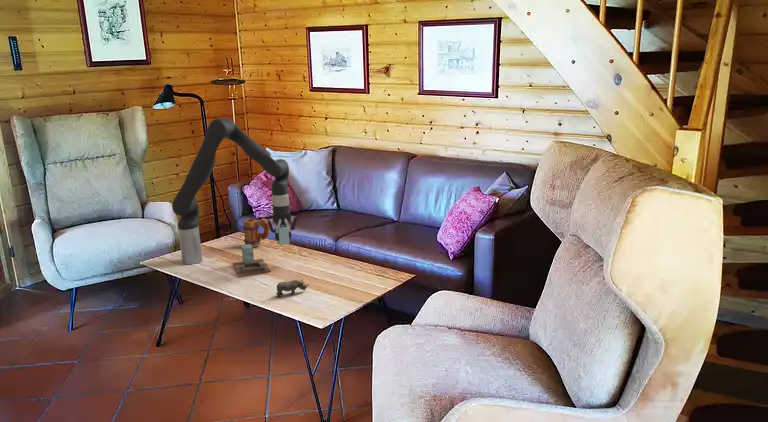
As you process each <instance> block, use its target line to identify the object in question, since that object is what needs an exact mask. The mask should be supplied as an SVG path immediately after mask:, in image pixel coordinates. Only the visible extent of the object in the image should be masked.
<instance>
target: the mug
mask: <svg viewBox="0 0 768 422" xmlns="http://www.w3.org/2000/svg"><path fill="white" fill-rule="evenodd" d="M267 220H268V219H266V218H264V217H263V218H261V219H260V220H257V219H255V218H250V219H249V218H247V219H244V220H243V226H242V230H244V231H243V233H244V239H243V242H244V245H250V244H251V245H252V246H253V248H256V247H258V246H260V245H261V240H263V241H264V240H266V239H267V238H268V236H269V235H270V232H271V231H270V228H269V226H268V223H267ZM260 227H262V228H263V232H259V228H260Z"/></svg>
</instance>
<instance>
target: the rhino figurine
mask: <svg viewBox="0 0 768 422" xmlns="http://www.w3.org/2000/svg"><path fill="white" fill-rule="evenodd" d="M309 285H310V284H306V283H305V282H303V279H301V280H297V279H293V280H290V281H281V282H278V283H277V285H276V293H275V294H276V298H281V296H283V295H284V292H290V295H291V296H295V295H296V290H297V289H298V288H299V290H302V291H306V289H307V288H308V286H309ZM283 291H284V292H283Z"/></svg>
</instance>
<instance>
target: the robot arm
mask: <svg viewBox="0 0 768 422" xmlns="http://www.w3.org/2000/svg"><path fill="white" fill-rule="evenodd" d="M225 139H227V140H230V141H232V142H234V143H236V144H237V145H238V147H240V148H241V150H243V152H244V153H245V154H246V155H247V157H249V158H250V159H251V160H252V161H254V162H255V163H257V164H259V165H260V167H262V169H263V170H264V171H265V172H266V173H267V174H268V175H270V176H271V177H274V180H273V181H272V183H271V193H272V194H271V195H272V196H271V204H272V218H270V219H266V220H267V223H268V226H269V228H270V232H271V233H274V239H275V240H276V241H277V242H278V241H279V233H278V228H280V226H282V225H284V226H285V225H286V226H287V227H289V240H291V238H292V231H294V230H295V228H296V225H297V220H298V218H297V216H295V215H294V216H292V215H291V210H290V197H289V190H288V187H289V186H288V182H289V175H290V174H289V173H290V166H289V164H288V162H287V161H286V159H284V158H279V159H277V160H275V159H273V157H272V155H271V153H270V151H268V150H267V149H266V148H265V147H263V146H261V145H260V144H259V143H257V142H256V141H255V140H254V139H252V138H251V137H249V136H248V135H247V134H246V133H245V132H244V131H243V130H241V128H240V127H238V125H237V124H236V123H235V122H234V121H233V120H232V119H230V118H227V117H221V118H220V117H219V118H214V119H213V120H211V122H210V123H209V124H208V127H207V130H206V133H205V136H204V139H203V141H202V144H201V146H200V148H198V149H199V150H198V152H197V153H196V156H195V158H194V160H193V162H192V164H191V166H190V168H189V171H188V172H187V175H186V177H185V178H184V182H183V183H182V186H181V188H180V189H179V191H178V192H177V194H176V195H175V197H174V199H173V200H172V205H171V206H172V207H171V208H172V211H173V213H174V214H175V215H177V216H180V218H179V220H178V222H177V229H178V237H179V238H178V239H179V244H180V245H179V246H180V253H181V259H182V260H181V261H182V264H184V265H195V264H198V263H201V262H202V261H203V254H202V246H201V238H200V237H201V236H200V230H199V229H200V228H199V221H200V213H199V212H200V208H199V201H198V199H197V197H196V195H197V193H198V192H199V190H200V189H201V188H202V187H203V186H204V185H205V184H206V182H207V181H208V179H209V178H210V177H211V174H212V172H213V170H214V169H215V166H216V158H217V157H216V156H217V155H216V154H217V150H218V148H219V146H220V145H221V142H223V140H225ZM290 221H291V226H290V224H289V222H290ZM273 222H274V223H275V224H274V225H275V226H274V227H275V228H274V227H273Z"/></svg>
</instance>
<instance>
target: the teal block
mask: <svg viewBox="0 0 768 422" xmlns="http://www.w3.org/2000/svg"><path fill="white" fill-rule="evenodd" d="M278 233H279V241H277V244H278V245H279V246H283V245H284V246H285V245H290V239H289V227H287V226H286V225H285V226H284V225H282V226H280V228H278Z"/></svg>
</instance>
